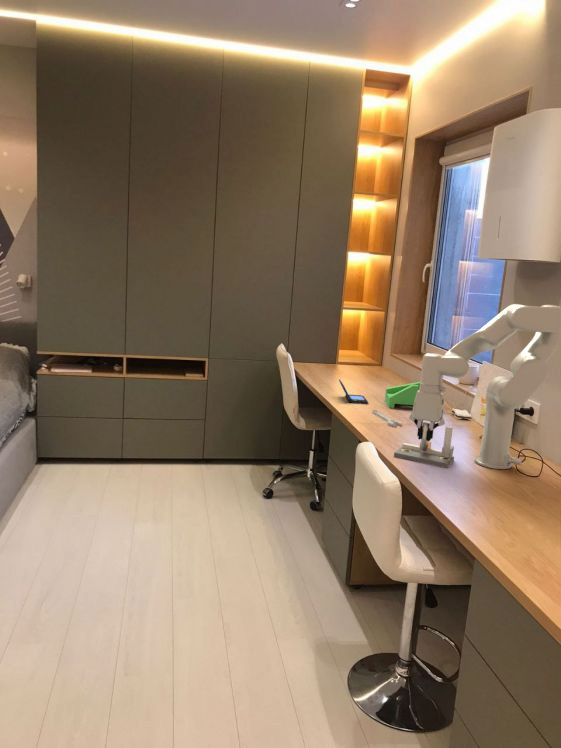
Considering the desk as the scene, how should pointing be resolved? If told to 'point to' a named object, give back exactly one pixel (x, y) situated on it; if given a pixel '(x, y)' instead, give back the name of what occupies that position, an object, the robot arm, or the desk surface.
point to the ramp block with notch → (401, 394)
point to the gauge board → (423, 458)
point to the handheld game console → (354, 396)
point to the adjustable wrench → (387, 419)
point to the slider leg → (425, 438)
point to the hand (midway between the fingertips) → (424, 439)
